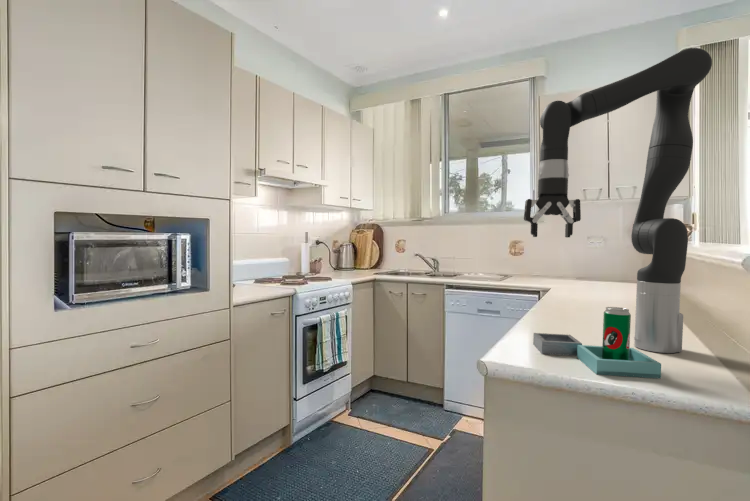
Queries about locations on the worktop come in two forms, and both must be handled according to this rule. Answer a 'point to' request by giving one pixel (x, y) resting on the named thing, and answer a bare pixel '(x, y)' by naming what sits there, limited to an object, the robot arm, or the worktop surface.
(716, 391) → the worktop surface
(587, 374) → the worktop surface
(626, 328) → the soda can
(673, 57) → the robot arm
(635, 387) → the worktop surface
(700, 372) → the worktop surface
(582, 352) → the tray
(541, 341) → the grey square bin
